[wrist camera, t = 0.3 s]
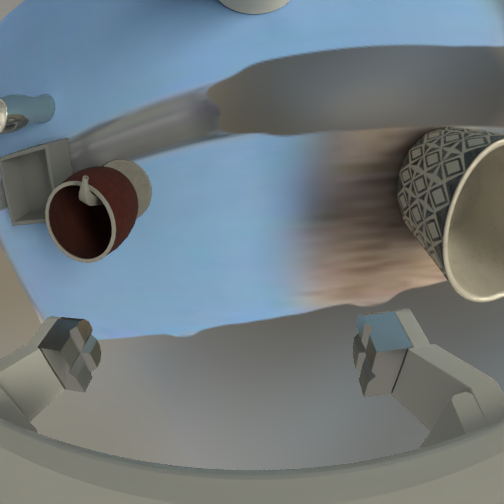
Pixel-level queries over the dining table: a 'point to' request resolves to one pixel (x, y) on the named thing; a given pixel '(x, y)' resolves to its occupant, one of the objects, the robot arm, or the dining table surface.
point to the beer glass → (24, 111)
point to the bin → (34, 179)
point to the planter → (458, 207)
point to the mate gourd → (97, 209)
